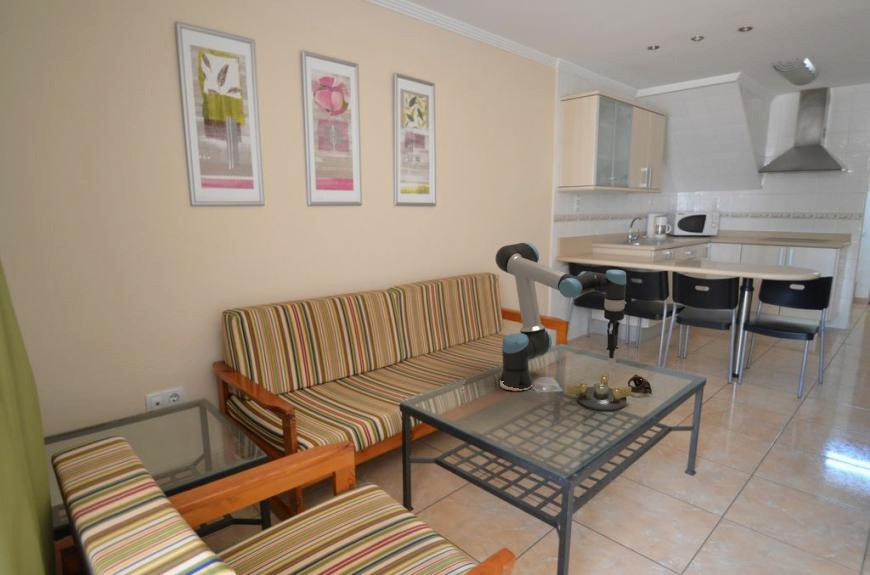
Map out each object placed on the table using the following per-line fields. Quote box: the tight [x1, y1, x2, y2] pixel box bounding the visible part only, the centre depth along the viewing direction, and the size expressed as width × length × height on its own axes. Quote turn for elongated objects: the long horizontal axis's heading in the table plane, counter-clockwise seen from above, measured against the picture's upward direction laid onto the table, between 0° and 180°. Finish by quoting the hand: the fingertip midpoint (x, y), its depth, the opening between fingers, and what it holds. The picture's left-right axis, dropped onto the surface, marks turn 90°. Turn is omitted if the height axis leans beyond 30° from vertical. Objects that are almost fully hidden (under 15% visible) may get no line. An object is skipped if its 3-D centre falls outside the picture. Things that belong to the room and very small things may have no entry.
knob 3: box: [612, 385, 632, 403], centre depth 193 cm, size 8×3×5 cm, turn 109°
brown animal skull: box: [627, 374, 653, 393], centre depth 207 cm, size 12×10×8 cm
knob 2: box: [600, 371, 610, 386], centre depth 208 cm, size 8×3×5 cm, turn 151°
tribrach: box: [575, 382, 627, 412], centre depth 199 cm, size 20×20×7 cm
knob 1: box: [566, 383, 588, 397], centre depth 199 cm, size 8×3×5 cm, turn 91°
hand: (611, 364), depth 194 cm, fingers closed
